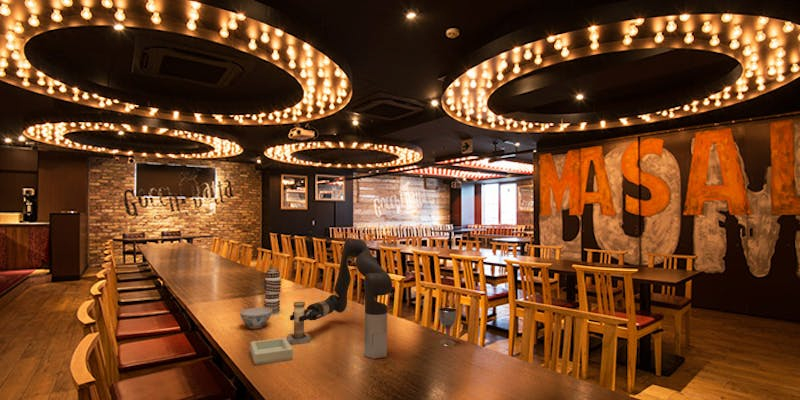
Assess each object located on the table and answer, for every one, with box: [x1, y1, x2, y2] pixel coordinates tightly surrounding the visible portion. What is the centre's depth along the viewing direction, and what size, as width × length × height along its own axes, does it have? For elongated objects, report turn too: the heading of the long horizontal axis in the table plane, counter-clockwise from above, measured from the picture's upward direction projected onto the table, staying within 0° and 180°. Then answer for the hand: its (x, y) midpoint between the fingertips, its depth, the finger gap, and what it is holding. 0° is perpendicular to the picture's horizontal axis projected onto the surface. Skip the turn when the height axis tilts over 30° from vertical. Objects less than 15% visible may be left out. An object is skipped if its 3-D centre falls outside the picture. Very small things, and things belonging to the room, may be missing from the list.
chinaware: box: [239, 307, 272, 330], centre depth 199 cm, size 15×15×8 cm
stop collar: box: [286, 331, 311, 346], centre depth 179 cm, size 9×9×2 cm
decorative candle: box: [263, 268, 282, 317], centre depth 225 cm, size 9×9×25 cm
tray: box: [250, 337, 294, 366], centre depth 160 cm, size 16×14×4 cm
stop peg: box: [293, 301, 306, 338], centre depth 179 cm, size 5×5×15 cm
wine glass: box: [438, 306, 458, 347], centre depth 178 cm, size 8×8×15 cm
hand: (295, 318), depth 176 cm, fingers closed on stop peg, 4 cm apart
